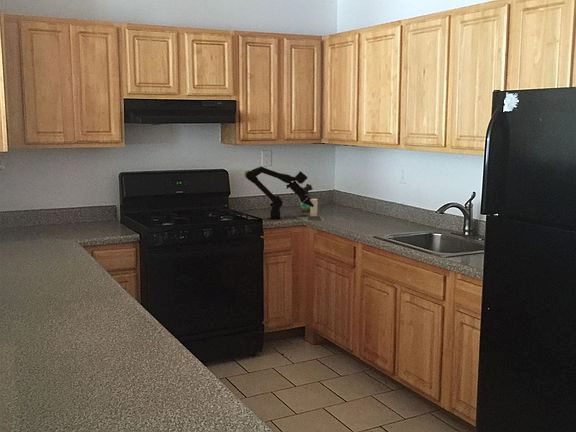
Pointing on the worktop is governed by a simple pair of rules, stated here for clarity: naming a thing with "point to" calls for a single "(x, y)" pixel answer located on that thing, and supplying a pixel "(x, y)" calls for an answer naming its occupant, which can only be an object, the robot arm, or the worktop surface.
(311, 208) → the plug
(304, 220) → the board
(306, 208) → the food container
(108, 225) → the worktop surface
